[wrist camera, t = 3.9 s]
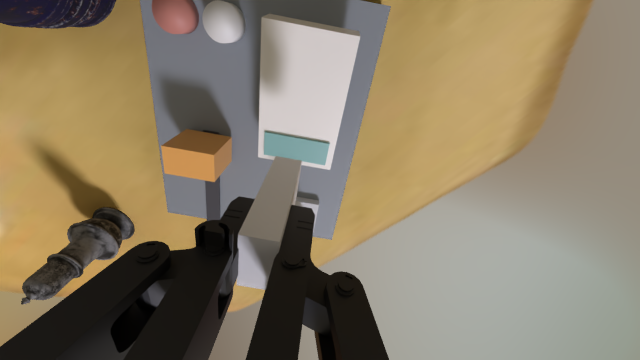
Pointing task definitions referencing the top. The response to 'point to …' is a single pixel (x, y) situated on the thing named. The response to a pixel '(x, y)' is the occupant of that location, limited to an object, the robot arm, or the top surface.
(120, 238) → the chess piece
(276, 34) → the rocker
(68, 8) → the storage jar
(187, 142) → the slider
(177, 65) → the panel
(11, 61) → the top surface
